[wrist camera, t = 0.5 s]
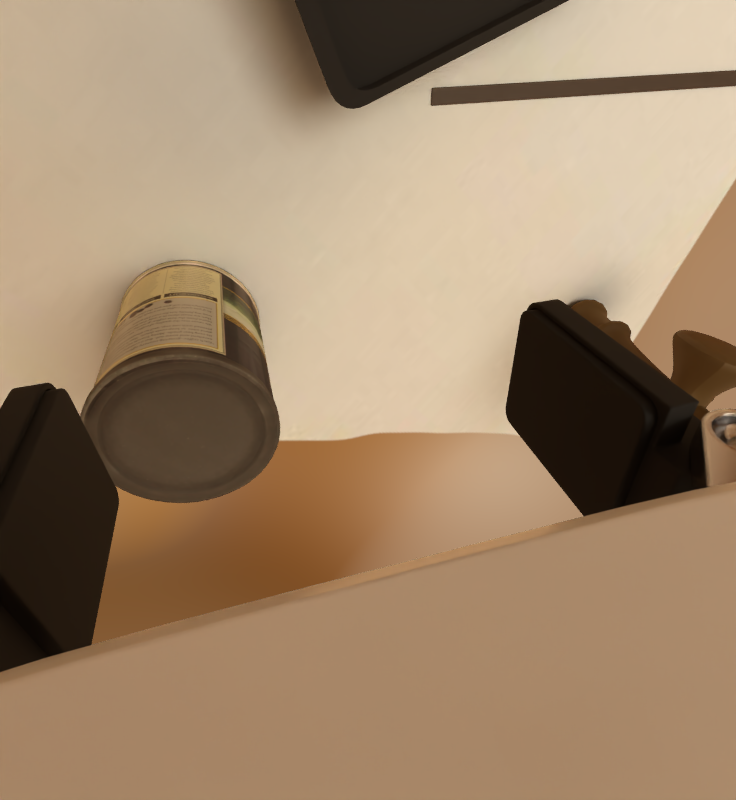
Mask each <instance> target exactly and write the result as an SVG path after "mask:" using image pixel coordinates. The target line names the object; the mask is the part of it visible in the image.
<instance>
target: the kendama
mask: <svg viewBox="0 0 736 800" xmlns="http://www.w3.org/2000/svg"><path fill="white" fill-rule="evenodd" d="M571 309H573V310H574V311H576V312H577V313H578V314H580V315H581V316H582V317H584V318H585V319H587V320H588V321H589V322H591V323H592V324H593V325H595V326H596V327H598V328H599V329H600V330H602V331H603V332H604V333H606V334H607V335H609V336H610V337H611V338H613V339H614V340H615V341H617V342H618V343H620V344H621V345H622V346H624V347H625V348H626V349H628V350H629V351H630V352H632V353H633V354H635V355H636V356H637V357H639V358H640V359H641V360H643V361H644V362H646V363H647V364H648V365H650V366H651V367H652V368H654V369H655V370H657V371H658V372H659V373H661V374H662V375H663V376H665V377H666V378H668V377H667V376H666V375H665V374H663V373H662V372H661V371H660V370H659V369H658V368H657V367H656V366H655V365H654V364H653V363H652V362H651V361H650V360H649V359H648V358H647V357H646V356H645V355H644V354H643V353H642V352H641V351H640V350H639V349H638V348H637V347H636V346H635V345H634V343H633V342H632V341H631V339H630V335H631V330H630V328H629V326H628V325H627V324H625V323H623V322H621V321H610V320H609V319H608V318H607V310H606V309H605V307H604V306H603V304H601V303H599V302H597V301H595V300H583V301H581V302H578V303H576V304H574V305H573V306H572V307H571ZM668 379H669V378H668ZM669 380H670V381H672V382H673V383H674V384H676V385H677V386H679V387H680V388H681V389H683V390H684V391H685V392H687V393H688V394H690V395H691V396H692V397H694V398H695V399H696V400H698V401H699V403H698V406H697V408H696V410H695V412H694V414H693V415H694V416H696V417H697V418H698V419H700V420H702V418H703V417H704V416H705V415H706V414H707V413H708V412H710V411H708V410H707V409H706V407H707V406H708V404H709V403H710V402H711V401H713V400H714V398H715V396H717V395H719V394H720V393H722V392H724V391H727V390H729V389H731V388H734V387H736V347H735V346H733V345H731V344H729V343H727V342H724V341H722V340H719V339H717V338H714V337H712V336H709V335H706V334H702V333H699V332H694V331H688V330H681V331H678V332H676V333H675V334H674V336H673V373H672V377H671V379H669Z"/></svg>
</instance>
